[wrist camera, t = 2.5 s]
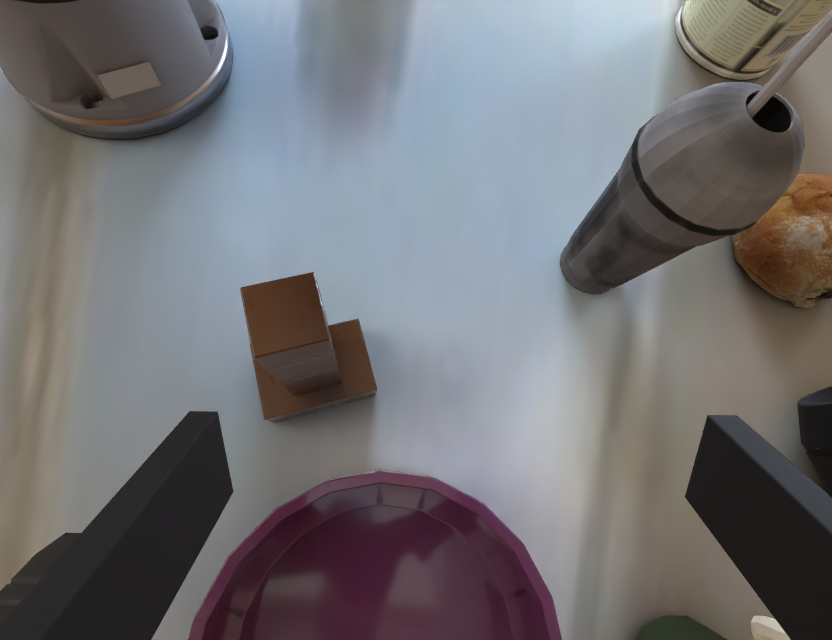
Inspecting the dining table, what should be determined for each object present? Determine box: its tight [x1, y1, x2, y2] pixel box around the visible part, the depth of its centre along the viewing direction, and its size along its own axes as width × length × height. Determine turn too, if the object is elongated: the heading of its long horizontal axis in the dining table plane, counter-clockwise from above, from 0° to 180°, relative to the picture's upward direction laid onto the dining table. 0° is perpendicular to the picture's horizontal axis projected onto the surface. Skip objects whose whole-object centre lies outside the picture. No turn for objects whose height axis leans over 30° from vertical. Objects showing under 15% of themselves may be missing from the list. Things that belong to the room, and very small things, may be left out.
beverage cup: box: [560, 11, 832, 294], centre depth 23 cm, size 7×7×20 cm
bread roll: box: [731, 173, 832, 308], centre depth 33 cm, size 10×10×8 cm
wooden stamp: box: [240, 272, 377, 423], centre depth 22 cm, size 6×4×12 cm
